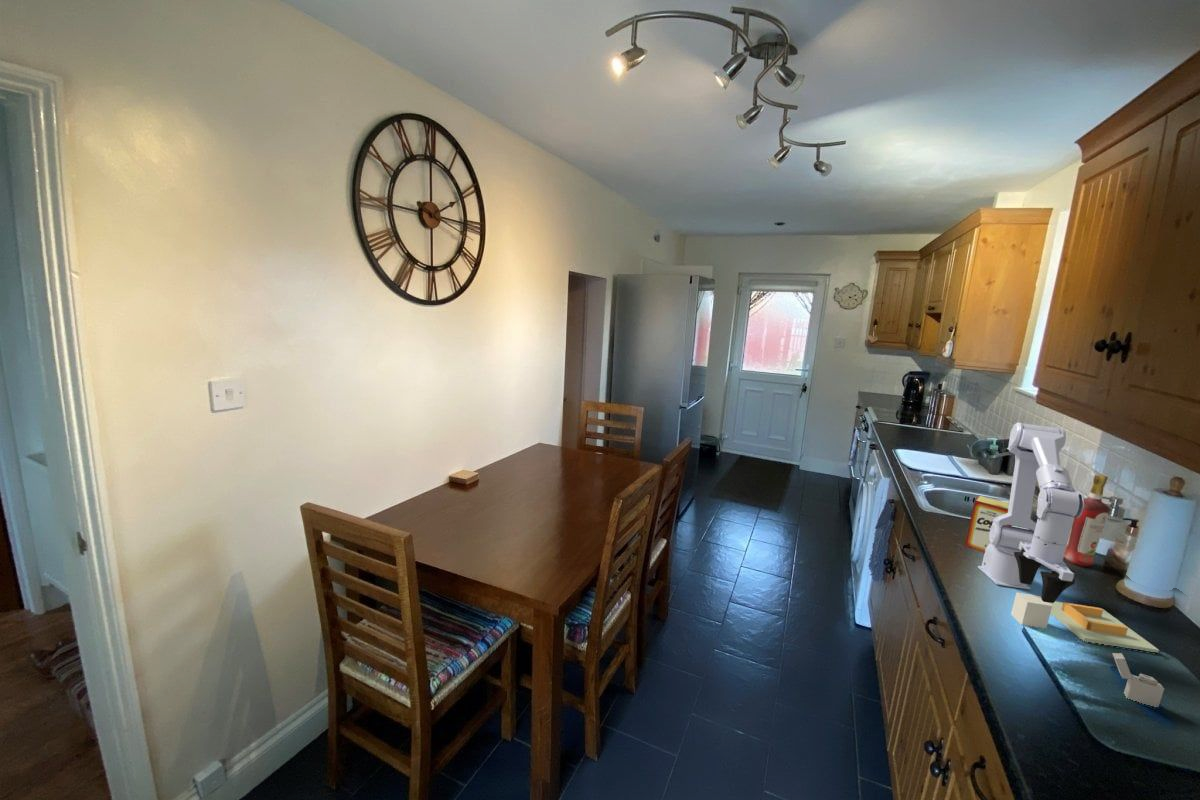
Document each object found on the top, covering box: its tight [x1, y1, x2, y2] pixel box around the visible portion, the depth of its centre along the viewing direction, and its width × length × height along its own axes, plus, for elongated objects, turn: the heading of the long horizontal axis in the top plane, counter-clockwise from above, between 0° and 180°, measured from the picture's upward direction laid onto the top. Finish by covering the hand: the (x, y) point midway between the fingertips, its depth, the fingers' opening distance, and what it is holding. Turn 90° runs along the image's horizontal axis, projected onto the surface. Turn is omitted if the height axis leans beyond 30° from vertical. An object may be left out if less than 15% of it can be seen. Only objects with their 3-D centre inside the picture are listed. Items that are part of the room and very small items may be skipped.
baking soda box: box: [964, 495, 1014, 553], centre depth 147 cm, size 10×6×16 cm
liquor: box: [1064, 473, 1112, 567], centre depth 141 cm, size 7×7×28 cm
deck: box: [1049, 601, 1160, 653], centre depth 112 cm, size 15×14×3 cm
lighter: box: [1111, 652, 1165, 708], centre depth 90 cm, size 7×2×8 cm, turn 56°
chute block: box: [1010, 592, 1052, 629], centre depth 112 cm, size 4×5×6 cm
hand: (1036, 592), depth 111 cm, fingers open, 7 cm apart
